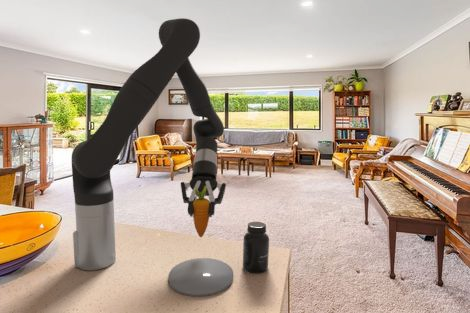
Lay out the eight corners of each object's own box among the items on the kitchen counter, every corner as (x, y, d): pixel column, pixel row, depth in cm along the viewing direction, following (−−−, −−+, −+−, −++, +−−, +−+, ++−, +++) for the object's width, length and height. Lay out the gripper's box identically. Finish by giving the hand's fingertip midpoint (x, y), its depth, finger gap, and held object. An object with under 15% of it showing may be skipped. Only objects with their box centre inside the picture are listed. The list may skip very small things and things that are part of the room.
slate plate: (161, 296, 64) (161, 292, 64) (175, 261, 80) (175, 257, 80) (233, 296, 64) (233, 292, 64) (233, 261, 80) (233, 258, 80)
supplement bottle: (266, 275, 73) (268, 230, 72) (240, 272, 74) (241, 228, 73) (269, 262, 80) (270, 221, 78) (245, 260, 81) (245, 219, 80)
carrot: (193, 241, 80) (194, 188, 78) (191, 234, 85) (191, 184, 83) (211, 239, 82) (212, 188, 80) (207, 233, 86) (208, 184, 84)
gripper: (181, 158, 88) (173, 208, 77) (227, 159, 88) (226, 210, 78) (183, 172, 94) (176, 220, 83) (227, 173, 94) (226, 222, 84)
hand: (200, 215), depth 81 cm, fingers closed on carrot, 4 cm apart
